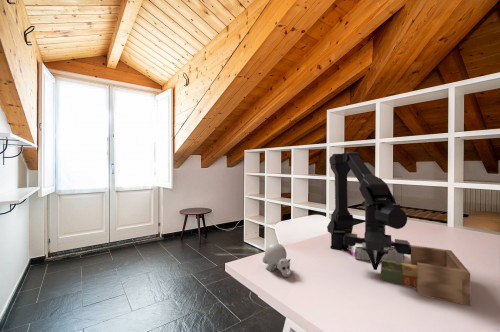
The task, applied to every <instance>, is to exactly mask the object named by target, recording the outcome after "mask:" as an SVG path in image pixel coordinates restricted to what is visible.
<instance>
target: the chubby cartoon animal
mask: <svg viewBox="0 0 500 332" xmlns="http://www.w3.org/2000/svg"><path fill="white" fill-rule="evenodd" d="M262 262H263V263H264V264H266V265H267V266H266V267H267V270H269V271H270V270H271V271H270V272H273V271H274V270H275V268H276V269H277V270H278V271H280V272H281V274H282V276H283V277H285V278H289V277H290V275H291V259H290V258H287V250H286V248H285V247H284V246H283V245H282V244H281V243H279V242H272V243H269V244H268V245H267V246H266V248H265V249H264V255H263V257H262ZM272 270H273V271H272Z"/></svg>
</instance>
